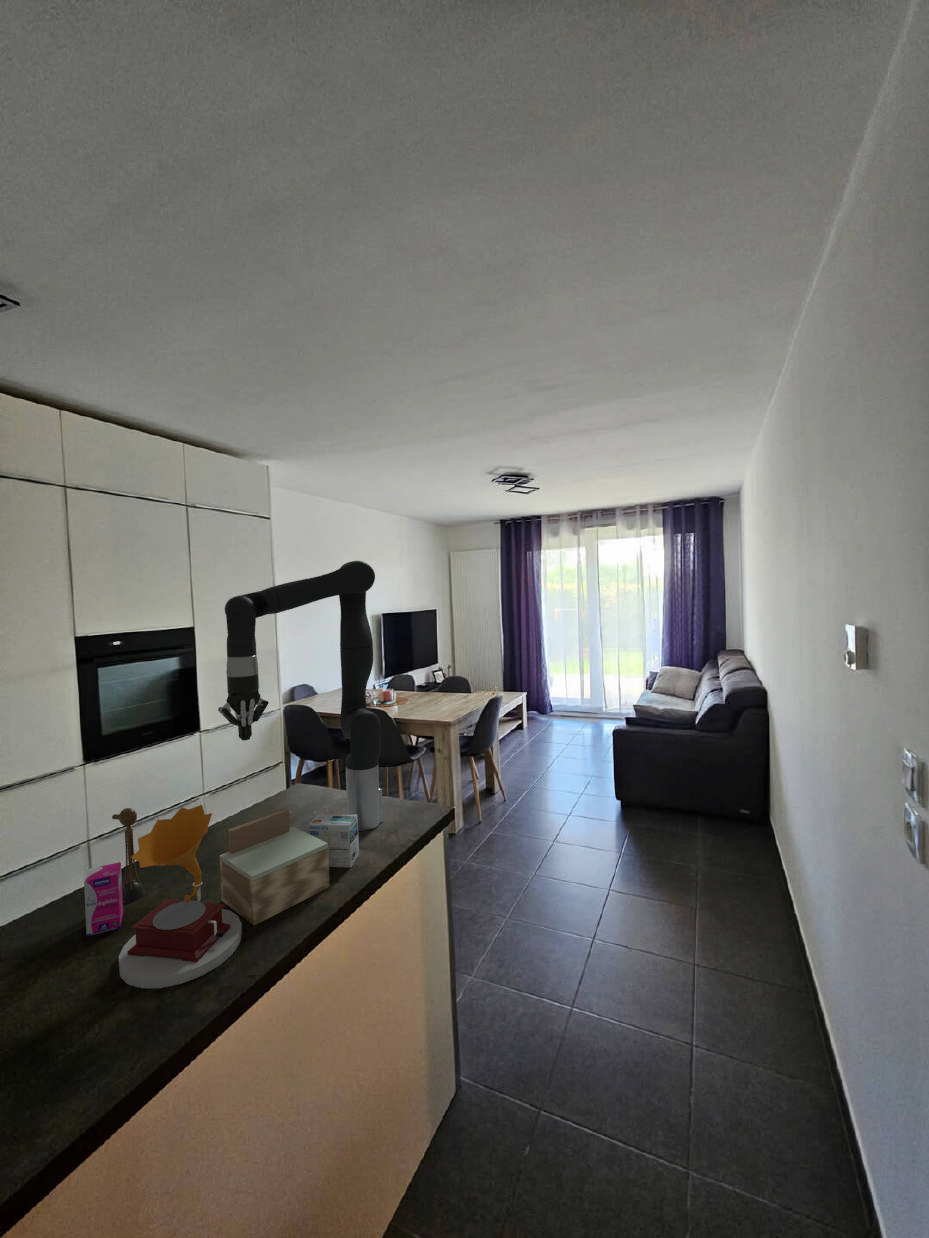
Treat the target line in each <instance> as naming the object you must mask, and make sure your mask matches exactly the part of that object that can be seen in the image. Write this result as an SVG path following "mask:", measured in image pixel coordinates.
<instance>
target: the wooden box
mask: <svg viewBox="0 0 929 1238" xmlns="http://www.w3.org/2000/svg"><path fill="white" fill-rule="evenodd" d="M219 873H220V892H221V896H220V897H221V901H222V902H223V904H225V906H228V907H229V908H231V909H232V910H233V911H234V912H236V913H237V914H239V916H241V917H242V918H243V919H245V920H246V921H247V922H249V923H250V924H251V925H252V926H256V925H258V924H260V923H262V922H264V921H266V920H268V919H270V918H272V917H274V916H276V915H279V914H280V913H282V912H284V911H286V910H287V909H289V908H291V907H293V906H295V905H298V904H299V903H301V902H303V901H305V900H307V899H309V898H311V897H313V896H315V895H317V894H318V893H321V892H323V891H324V890H326V889H329V888H330V867H329V858H328V848H326V849H324V850H322V851H319V852H317V853H315V854H313V855H310V856H308V857H306V858H304V859H302V860H299V861H297V862H295V863H293V864H290V865H288V866H286V867H284V868H281V869H279V870H277V871H275V872H272V873H270V874H268V875H266V876H263V877H261V878H259V879H257V880H254V881H251V880H249V879H248V878H246V877H245V876H243V875H242V874H240V873H239V872H237V871H236V870H234V869H233V868H231V867H230V866H228V865H227V864H225V863H224V862H222V861H221V860H220V859H219Z"/></svg>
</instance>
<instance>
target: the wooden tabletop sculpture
mask: <svg viewBox="0 0 929 1238" xmlns="http://www.w3.org/2000/svg"><path fill="white" fill-rule="evenodd" d="M111 819H112V820H118V821H119V823H120V824H121V825H122V826H125V827H126V829H125V830H124V842H125V872H124V882H123V884H122V899H123V901H125V902H128V903H130V902H129V901H132V902H136V901H138V900H139V898H140V899H141V897H142V896H143V895H146V889H145V887H144V885H143V884H142V882H140V879H139V876H138V871H137V866H136V860H135V859H133V858H131V857H132V856H133V855H134V854H135V848H134V829H133V828H132V825H134V824H135V823H136V822H137V819H138V814H137V812H136V809H133V808H131V807H126V808H123V809H122V810H121V811H120V812H119V814H118V813H114V814H112V815H111ZM134 874H135V878H134ZM127 876H128V878H129V879H128V881H127ZM143 897H144V896H143ZM143 897H142V898H143ZM137 899H138V900H137Z"/></svg>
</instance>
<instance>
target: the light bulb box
mask: <svg viewBox="0 0 929 1238" xmlns="http://www.w3.org/2000/svg"><path fill="white" fill-rule="evenodd" d="M307 827H308V829H307V830H308V834H310V835H312V836H314V837H316V838H318V839H320V840H322V841H324V842H326V843H328V858H329V868H352V867H353V865H354V864H355V862H356V861H357V859H358V857H360V846H359V844H360V843H359V841H360V840H359V831H358V819H357V814H347V813H345V814H343V813H342V814H335V813H333V814H330V813H329V814H328V813H325V814H323V813H317V815H316V816H314V818H313V819H312V820H311V821H310V822H309V823H308V825H307Z"/></svg>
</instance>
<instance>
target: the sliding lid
mask: <svg viewBox="0 0 929 1238" xmlns="http://www.w3.org/2000/svg"><path fill="white" fill-rule="evenodd" d="M227 845H228V846H227V849H228V851H227V852H225V853H223V854H222V853H221V854H220V855H219V861H220V860H221V861H222V862H224V863H225V864H227V865H228V866H230V867H231V868H233V869H234V870H236V871H237V872H239V873H240V874H242V875H243V876H245V877H246V878H248V879H249V880H251V881H254V880H257V879H259V878H261V877H263V876H266V875H268V874H270V873H272V872H275V871H277V870H279V869H281V868H284V867H286V866H288V865H290V864H293V863H295V862H297V861H299V860H302V859H304V858H306V857H308V856H310V855H313V854H315V853H317V852H319V851H322V850H324V849H326V848H328V843H326V842H324V841H322V840H320V839H318V838H316V837H314V836H312V835H310V834H309V832H308V833H307V832H305V831H303V830H301V829H299V828H297V827H296V826H292V827H290V810H288V809H282V810H279V811H276V812H273V813H271V814H268V815H265V816H262V817H259V818H257V819H254V820H251V821H248V822H245V823H242V824H239V825H237V826H233V827H231V828H228V829H227Z"/></svg>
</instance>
